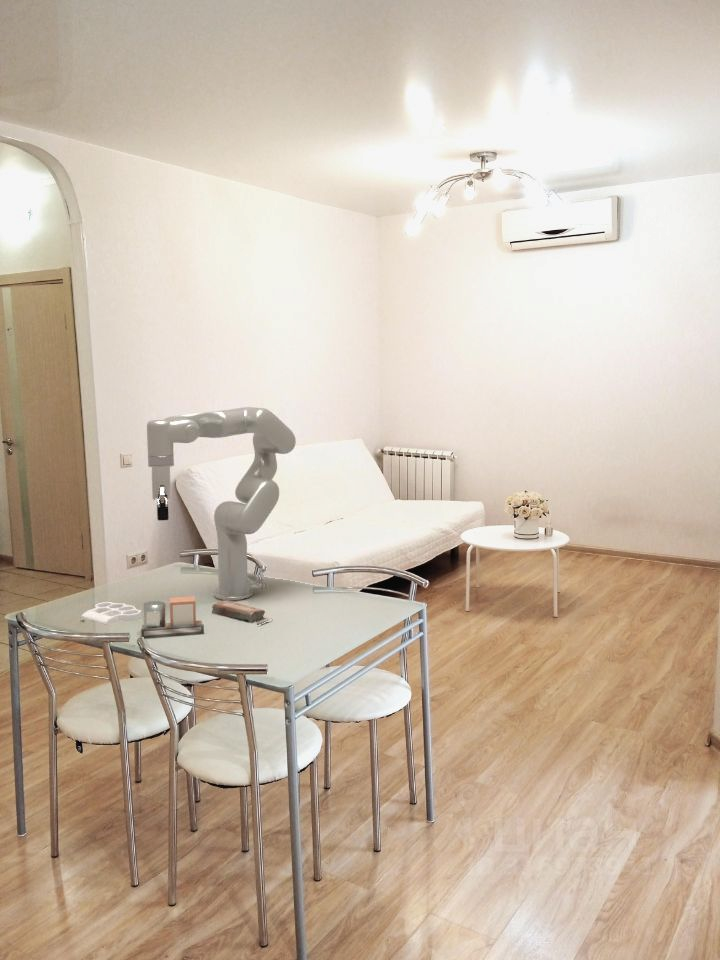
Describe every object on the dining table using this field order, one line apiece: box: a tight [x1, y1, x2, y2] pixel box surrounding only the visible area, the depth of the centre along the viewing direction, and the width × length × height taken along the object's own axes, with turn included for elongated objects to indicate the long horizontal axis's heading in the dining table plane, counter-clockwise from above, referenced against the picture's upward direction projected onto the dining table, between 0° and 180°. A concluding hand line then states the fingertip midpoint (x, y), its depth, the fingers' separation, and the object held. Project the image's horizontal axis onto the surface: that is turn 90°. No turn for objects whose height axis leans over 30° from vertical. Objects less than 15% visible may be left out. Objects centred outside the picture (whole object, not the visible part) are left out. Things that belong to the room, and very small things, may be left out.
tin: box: [142, 600, 166, 629], centre depth 229 cm, size 6×6×8 cm
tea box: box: [169, 595, 197, 627], centre depth 230 cm, size 7×5×9 cm
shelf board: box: [140, 620, 205, 639], centre depth 231 cm, size 17×12×4 cm
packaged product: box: [211, 600, 273, 626], centre depth 244 cm, size 18×5×10 cm
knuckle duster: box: [80, 601, 142, 626], centre depth 244 cm, size 3×18×15 cm
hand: (162, 516), depth 246 cm, fingers open, 9 cm apart
